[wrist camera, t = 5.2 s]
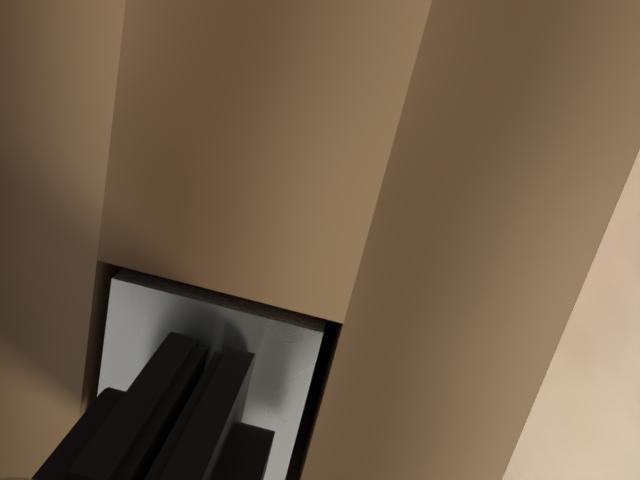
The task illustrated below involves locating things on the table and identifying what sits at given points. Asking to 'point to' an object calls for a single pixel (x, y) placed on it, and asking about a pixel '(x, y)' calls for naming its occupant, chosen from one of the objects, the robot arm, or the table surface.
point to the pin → (217, 346)
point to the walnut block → (316, 202)
